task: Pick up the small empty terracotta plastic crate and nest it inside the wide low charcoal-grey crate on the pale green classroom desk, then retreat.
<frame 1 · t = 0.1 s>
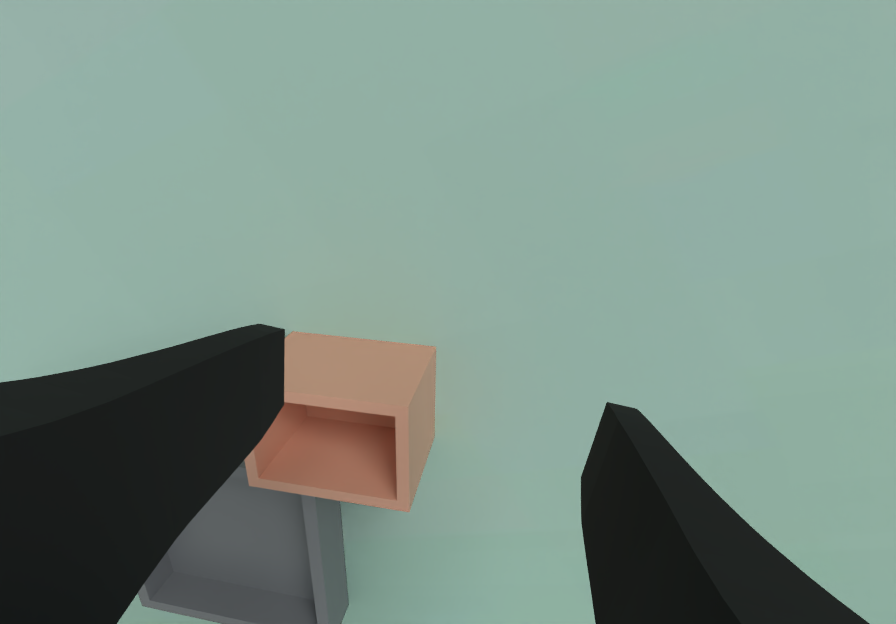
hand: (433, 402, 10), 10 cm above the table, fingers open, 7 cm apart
big crate: (243, 514, 28), on the table
small crate: (365, 383, 23), on the table
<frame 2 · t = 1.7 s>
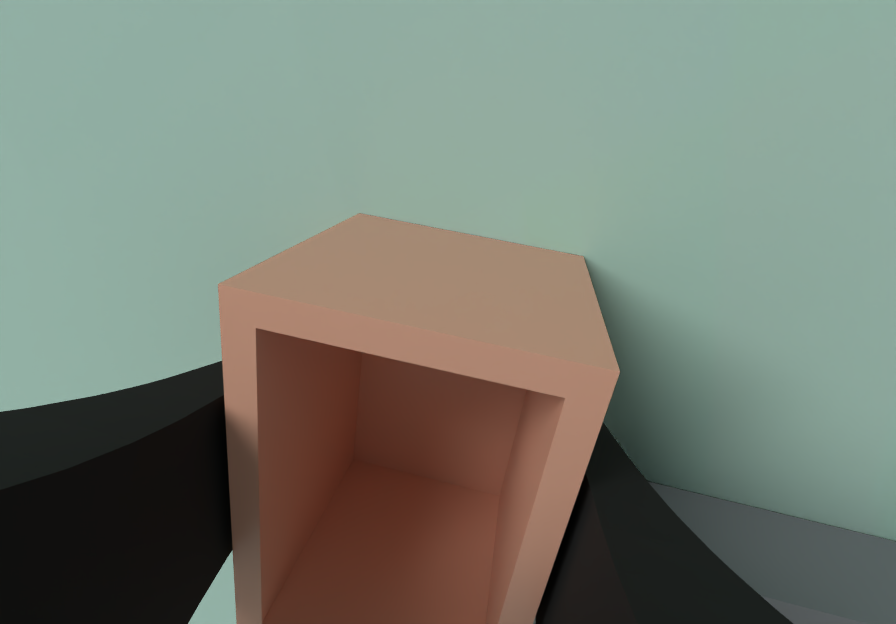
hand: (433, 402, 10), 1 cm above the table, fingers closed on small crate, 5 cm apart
small crate: (445, 371, 12), on the table, touching gripper
when the fingers open (3 cm above the table, at t = 5.0 s): small crate drops 1 cm, resting on big crate.
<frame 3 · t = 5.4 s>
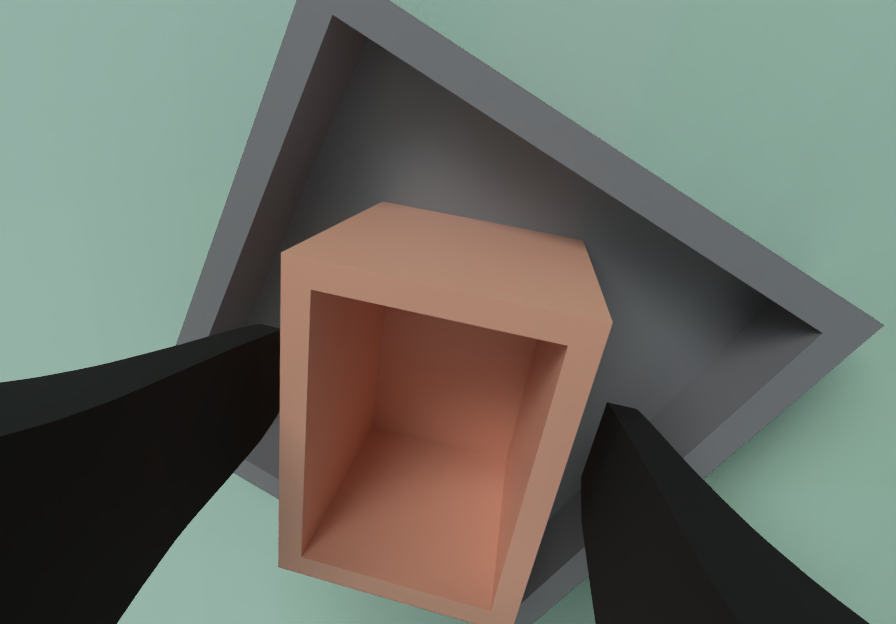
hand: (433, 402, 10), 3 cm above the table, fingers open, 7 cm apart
big crate: (458, 337, 13), on the table
small crate: (457, 345, 13), point 1 cm above the table, touching big crate
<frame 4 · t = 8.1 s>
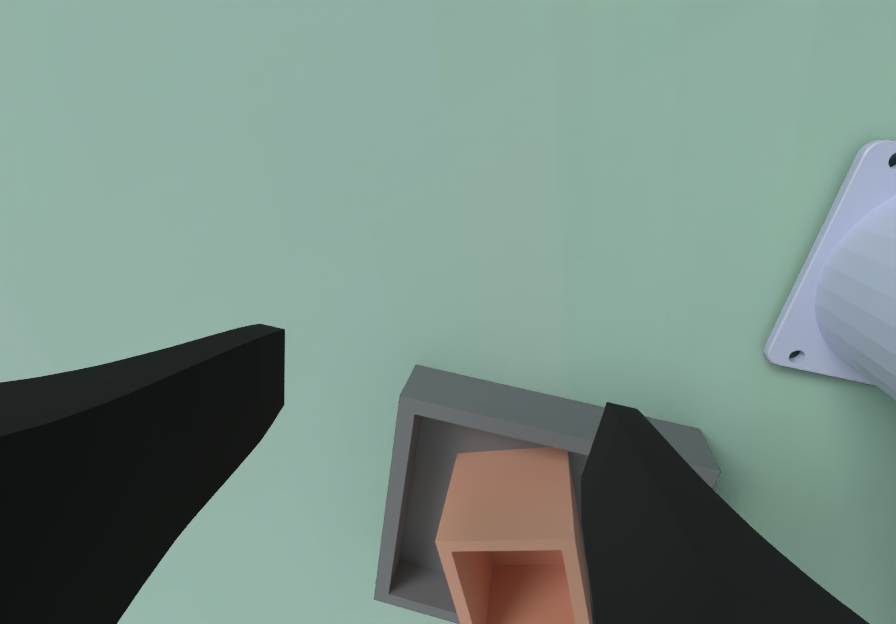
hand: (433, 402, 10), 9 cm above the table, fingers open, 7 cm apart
big crate: (522, 501, 23), on the table
small crate: (523, 509, 22), point 1 cm above the table, touching big crate
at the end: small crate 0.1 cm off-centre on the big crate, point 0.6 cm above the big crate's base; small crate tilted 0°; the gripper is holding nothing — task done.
